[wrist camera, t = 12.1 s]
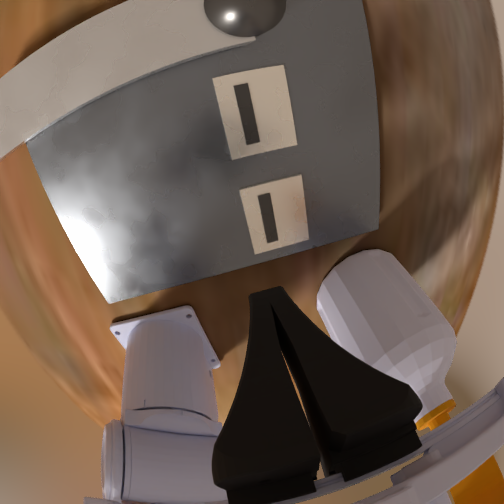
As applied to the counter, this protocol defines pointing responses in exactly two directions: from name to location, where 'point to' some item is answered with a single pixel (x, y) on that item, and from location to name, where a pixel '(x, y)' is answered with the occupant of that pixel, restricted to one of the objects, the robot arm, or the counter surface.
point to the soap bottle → (401, 345)
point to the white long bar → (121, 56)
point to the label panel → (223, 157)
